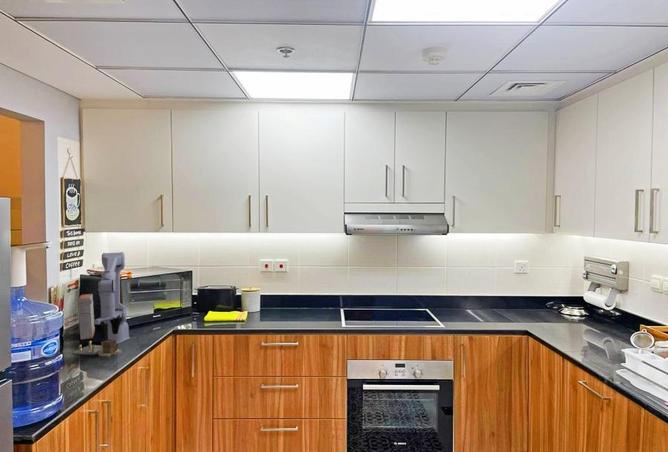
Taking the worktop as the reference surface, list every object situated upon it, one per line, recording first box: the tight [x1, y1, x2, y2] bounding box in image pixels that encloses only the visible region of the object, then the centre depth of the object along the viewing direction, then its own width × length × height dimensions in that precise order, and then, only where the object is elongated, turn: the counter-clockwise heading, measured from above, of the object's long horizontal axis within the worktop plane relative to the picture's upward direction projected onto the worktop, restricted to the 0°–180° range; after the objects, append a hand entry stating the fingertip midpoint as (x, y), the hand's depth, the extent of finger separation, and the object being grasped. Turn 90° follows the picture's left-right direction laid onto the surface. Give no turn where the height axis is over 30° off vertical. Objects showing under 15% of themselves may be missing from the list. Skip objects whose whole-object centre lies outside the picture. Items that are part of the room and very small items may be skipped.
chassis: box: [73, 340, 105, 356], centre depth 207 cm, size 10×11×4 cm
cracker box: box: [77, 293, 96, 340], centre depth 233 cm, size 14×6×21 cm, turn 23°
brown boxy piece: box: [97, 339, 123, 358], centre depth 203 cm, size 8×9×6 cm
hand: (109, 336), depth 203 cm, fingers open, 7 cm apart
